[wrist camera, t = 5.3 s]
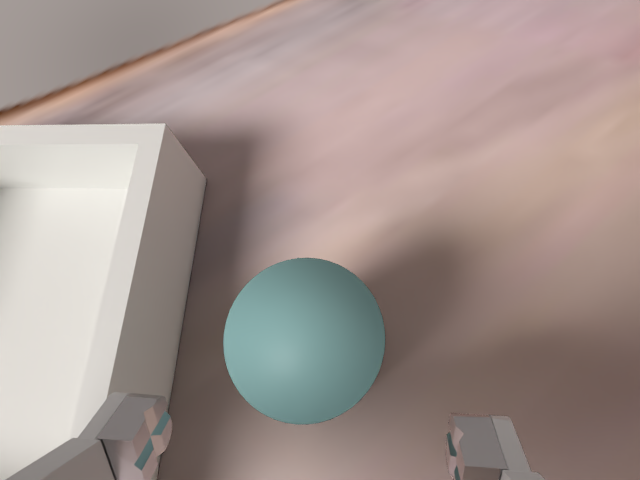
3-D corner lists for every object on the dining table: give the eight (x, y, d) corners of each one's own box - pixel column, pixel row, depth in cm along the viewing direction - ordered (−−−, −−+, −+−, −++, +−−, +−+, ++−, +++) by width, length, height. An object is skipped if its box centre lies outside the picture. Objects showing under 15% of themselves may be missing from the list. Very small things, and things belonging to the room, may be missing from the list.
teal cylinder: (376, 310, 19) (385, 259, 12) (375, 413, 18) (384, 430, 10) (283, 307, 20) (233, 255, 12) (274, 407, 18) (212, 418, 11)
